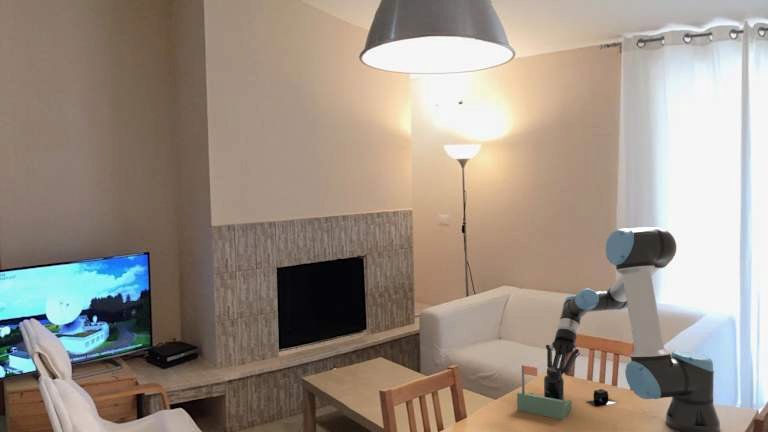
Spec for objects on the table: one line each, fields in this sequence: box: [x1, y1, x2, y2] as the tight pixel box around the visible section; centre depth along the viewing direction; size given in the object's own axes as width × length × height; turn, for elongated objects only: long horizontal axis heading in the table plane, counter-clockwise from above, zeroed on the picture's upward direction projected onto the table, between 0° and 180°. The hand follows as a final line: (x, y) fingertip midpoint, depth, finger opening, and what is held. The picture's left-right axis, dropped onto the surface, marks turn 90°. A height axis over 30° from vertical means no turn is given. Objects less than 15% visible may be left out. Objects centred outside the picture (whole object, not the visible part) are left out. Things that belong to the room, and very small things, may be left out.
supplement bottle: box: [543, 367, 565, 401], centre depth 205 cm, size 7×7×12 cm
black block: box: [586, 388, 617, 407], centre depth 203 cm, size 12×7×5 cm, turn 113°
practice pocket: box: [516, 364, 573, 421], centre depth 198 cm, size 10×16×16 cm, turn 55°
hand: (553, 388), depth 209 cm, fingers closed
